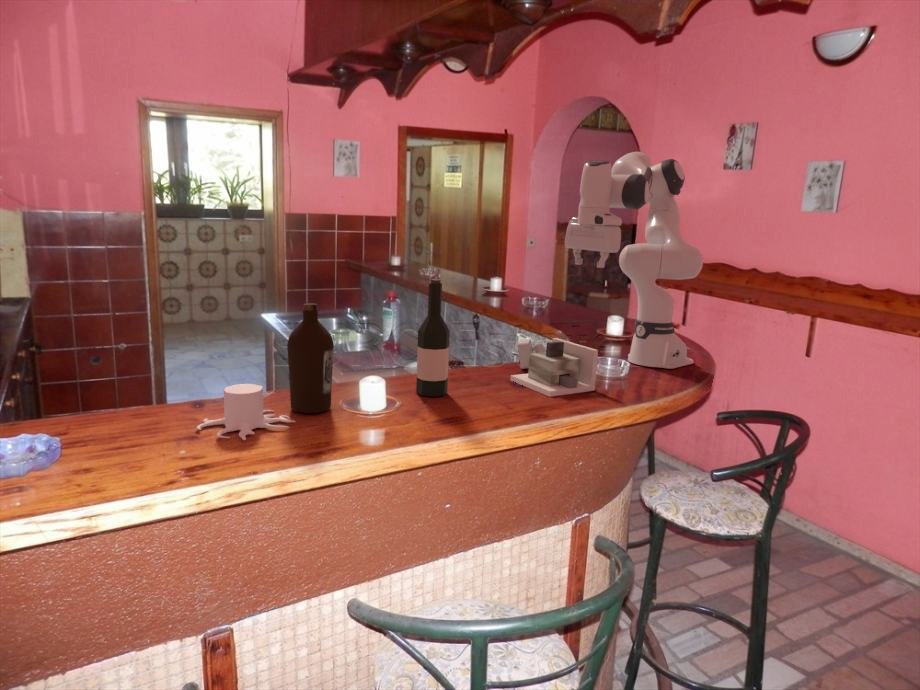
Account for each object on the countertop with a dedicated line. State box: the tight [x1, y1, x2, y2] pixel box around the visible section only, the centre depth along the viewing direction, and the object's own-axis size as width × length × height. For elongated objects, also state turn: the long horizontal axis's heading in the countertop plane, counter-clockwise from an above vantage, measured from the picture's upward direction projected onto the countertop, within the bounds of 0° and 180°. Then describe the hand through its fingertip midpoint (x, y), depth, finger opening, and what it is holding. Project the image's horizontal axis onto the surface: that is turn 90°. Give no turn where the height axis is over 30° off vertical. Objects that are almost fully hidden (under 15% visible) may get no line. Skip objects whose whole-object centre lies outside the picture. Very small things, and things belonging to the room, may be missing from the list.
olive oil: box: [286, 302, 335, 414], centre depth 153 cm, size 11×11×25 cm
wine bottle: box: [415, 278, 450, 398], centre depth 169 cm, size 8×8×30 cm
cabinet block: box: [527, 341, 580, 386], centre depth 183 cm, size 10×10×11 cm
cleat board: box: [510, 337, 599, 398], centre depth 183 cm, size 16×18×12 cm
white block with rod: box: [517, 338, 546, 370], centre depth 201 cm, size 8×10×10 cm
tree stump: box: [195, 383, 296, 441], centre depth 143 cm, size 20×19×8 cm
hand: (589, 266), depth 191 cm, fingers open, 8 cm apart
